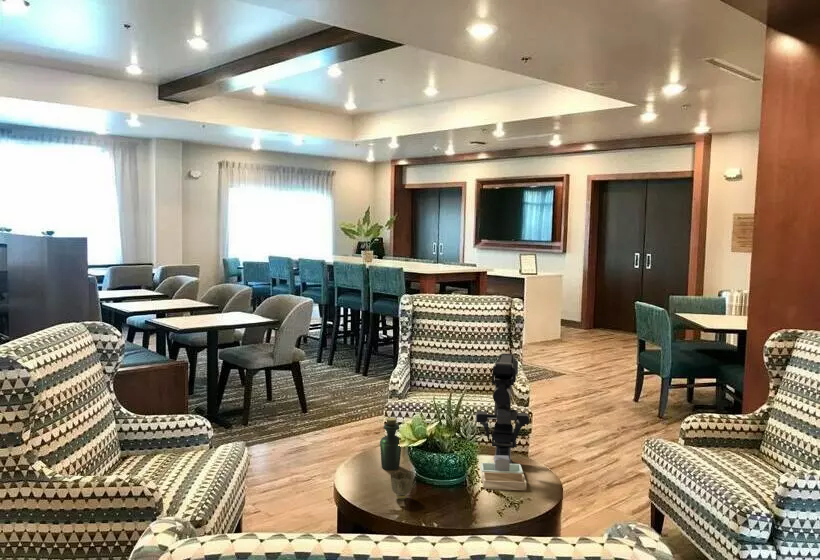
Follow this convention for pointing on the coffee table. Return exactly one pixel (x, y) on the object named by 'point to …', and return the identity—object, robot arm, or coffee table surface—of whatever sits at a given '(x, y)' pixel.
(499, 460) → the stone block
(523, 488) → the bin
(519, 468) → the bin
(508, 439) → the robot arm
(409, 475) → the cup
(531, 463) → the coffee table surface
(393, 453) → the potion bottle
